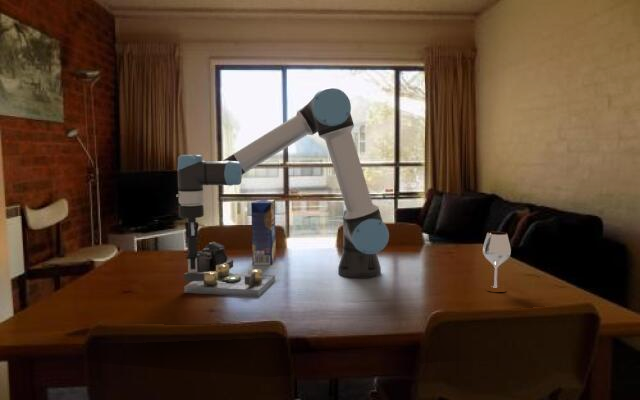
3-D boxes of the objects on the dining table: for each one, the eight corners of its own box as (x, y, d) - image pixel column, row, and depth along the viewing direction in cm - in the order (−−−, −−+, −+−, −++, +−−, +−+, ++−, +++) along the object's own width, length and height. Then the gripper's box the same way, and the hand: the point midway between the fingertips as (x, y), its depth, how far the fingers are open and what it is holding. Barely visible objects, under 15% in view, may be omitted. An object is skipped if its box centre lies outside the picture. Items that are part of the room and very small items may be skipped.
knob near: (218, 280, 154) (218, 270, 153) (216, 284, 149) (216, 273, 149) (186, 281, 153) (185, 271, 153) (183, 285, 149) (183, 274, 148)
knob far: (226, 276, 159) (226, 266, 158) (214, 276, 160) (213, 266, 159) (237, 269, 169) (237, 259, 168) (225, 268, 169) (225, 259, 169)
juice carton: (271, 265, 185) (270, 202, 182) (252, 264, 185) (251, 202, 183) (275, 258, 197) (274, 199, 194) (257, 258, 197) (256, 199, 195)
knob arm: (250, 278, 157) (250, 268, 156) (263, 279, 156) (263, 268, 155) (240, 287, 147) (239, 276, 146) (254, 287, 146) (253, 276, 145)
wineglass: (496, 295, 145) (498, 236, 143) (475, 288, 152) (477, 232, 150) (515, 291, 149) (517, 234, 147) (494, 285, 156) (496, 230, 154)
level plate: (275, 280, 162) (275, 271, 162) (258, 296, 144) (258, 286, 144) (208, 277, 167) (207, 268, 166) (183, 292, 149) (183, 283, 148)
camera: (217, 274, 171) (216, 247, 170) (191, 273, 173) (190, 246, 172) (232, 266, 184) (231, 240, 183) (208, 264, 186) (207, 239, 185)
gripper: (177, 202, 155) (179, 274, 158) (179, 207, 143) (181, 284, 145) (201, 201, 157) (203, 272, 160) (205, 206, 145) (206, 282, 148)
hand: (192, 278), depth 153 cm, fingers closed
